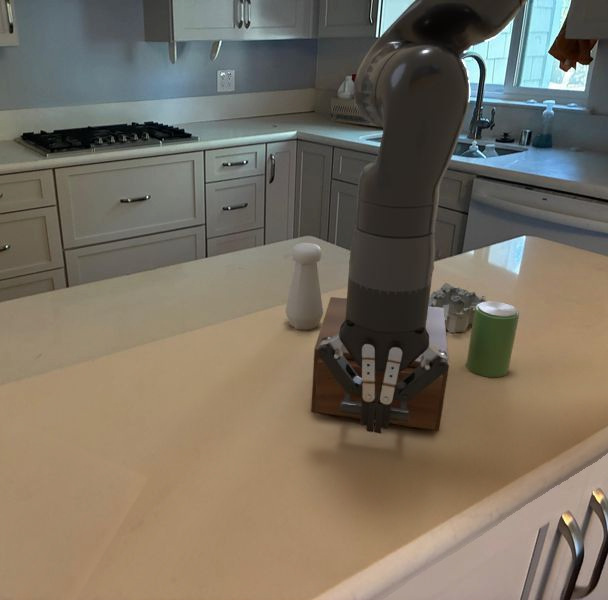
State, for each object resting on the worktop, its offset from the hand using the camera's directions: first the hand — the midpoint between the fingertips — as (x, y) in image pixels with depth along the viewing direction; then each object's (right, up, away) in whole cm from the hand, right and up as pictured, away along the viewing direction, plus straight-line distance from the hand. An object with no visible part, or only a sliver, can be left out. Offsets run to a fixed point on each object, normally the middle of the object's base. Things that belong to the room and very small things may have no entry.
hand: (374, 427), depth 64 cm
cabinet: (+4, +2, +15) cm, 15 cm away
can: (+20, +4, +18) cm, 28 cm away
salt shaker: (-2, +9, +32) cm, 33 cm away
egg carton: (+21, +10, +33) cm, 40 cm away
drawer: (+3, +1, +11) cm, 11 cm away
